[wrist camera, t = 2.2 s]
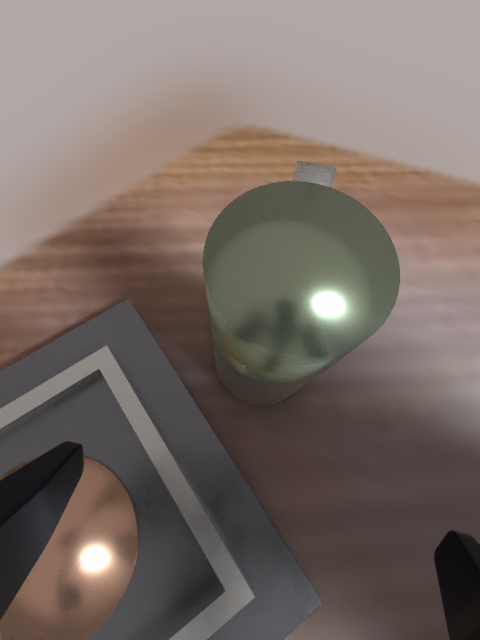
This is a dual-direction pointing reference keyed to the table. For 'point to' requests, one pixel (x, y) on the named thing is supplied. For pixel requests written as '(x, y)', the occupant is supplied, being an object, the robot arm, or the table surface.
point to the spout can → (294, 283)
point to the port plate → (140, 502)
